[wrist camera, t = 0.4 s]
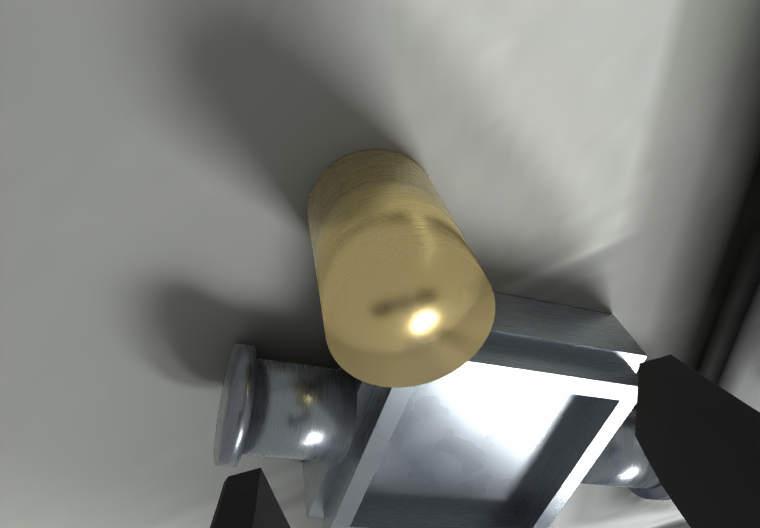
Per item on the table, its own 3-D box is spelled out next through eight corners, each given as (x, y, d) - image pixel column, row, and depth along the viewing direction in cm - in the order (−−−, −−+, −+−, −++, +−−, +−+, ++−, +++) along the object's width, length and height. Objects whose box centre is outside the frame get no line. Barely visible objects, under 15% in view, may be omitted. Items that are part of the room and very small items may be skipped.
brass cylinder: (396, 280, 21) (439, 403, 16) (285, 240, 20) (295, 362, 15) (459, 180, 20) (528, 283, 15) (343, 127, 18) (376, 222, 13)
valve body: (693, 330, 25) (760, 398, 22) (570, 501, 30) (609, 578, 27) (258, 247, 20) (258, 322, 16) (198, 475, 25) (189, 568, 21)
